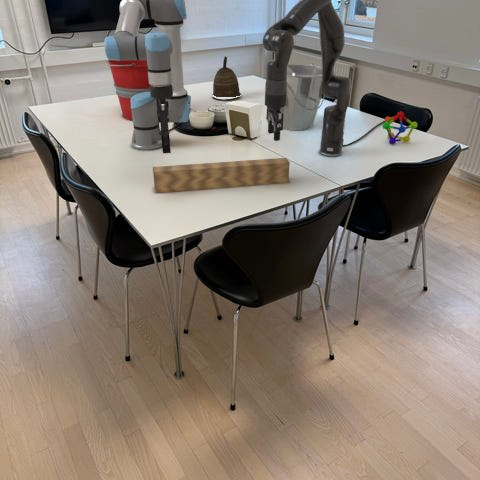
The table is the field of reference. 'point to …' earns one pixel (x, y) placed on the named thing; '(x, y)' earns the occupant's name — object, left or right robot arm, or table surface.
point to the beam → (220, 174)
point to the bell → (225, 82)
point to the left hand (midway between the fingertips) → (166, 146)
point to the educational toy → (398, 128)
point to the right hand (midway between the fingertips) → (273, 136)
